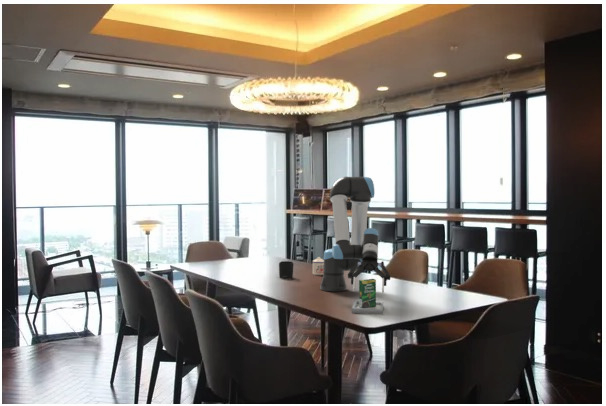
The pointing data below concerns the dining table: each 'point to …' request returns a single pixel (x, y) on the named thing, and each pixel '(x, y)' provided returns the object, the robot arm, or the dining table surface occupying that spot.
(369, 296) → the coffee box
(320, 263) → the teacup with lid
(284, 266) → the pen holder
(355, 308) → the dock plate
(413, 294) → the dining table surface
